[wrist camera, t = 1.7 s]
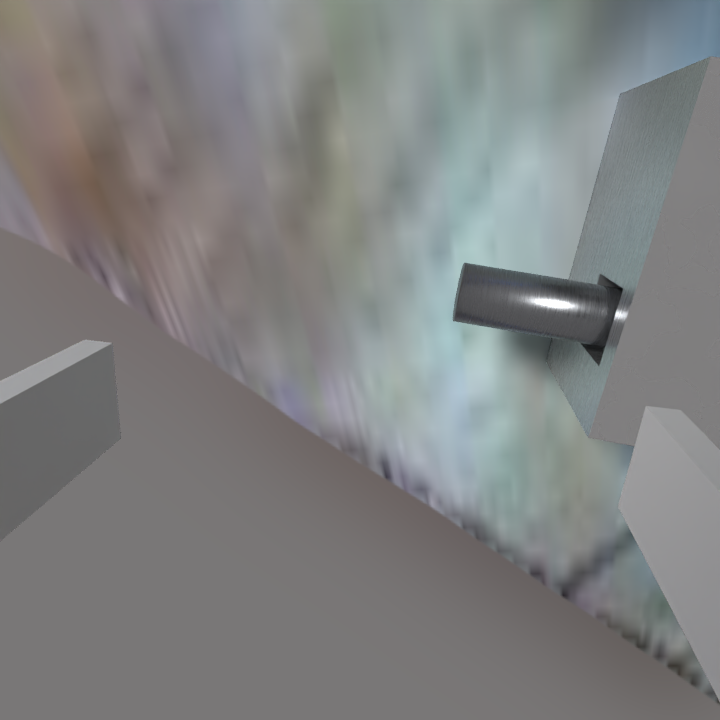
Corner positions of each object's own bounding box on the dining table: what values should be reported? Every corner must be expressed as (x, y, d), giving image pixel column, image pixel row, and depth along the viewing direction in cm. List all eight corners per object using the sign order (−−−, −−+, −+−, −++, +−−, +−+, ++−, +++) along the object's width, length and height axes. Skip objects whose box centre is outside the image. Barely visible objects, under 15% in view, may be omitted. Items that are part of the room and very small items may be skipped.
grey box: (545, 361, 36) (587, 437, 26) (619, 94, 30) (710, 56, 20) (671, 383, 35) (765, 470, 25) (770, 114, 30) (941, 86, 19)
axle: (452, 313, 30) (453, 327, 27) (463, 259, 29) (466, 267, 26) (756, 365, 29) (791, 385, 26) (778, 310, 28) (817, 324, 25)
